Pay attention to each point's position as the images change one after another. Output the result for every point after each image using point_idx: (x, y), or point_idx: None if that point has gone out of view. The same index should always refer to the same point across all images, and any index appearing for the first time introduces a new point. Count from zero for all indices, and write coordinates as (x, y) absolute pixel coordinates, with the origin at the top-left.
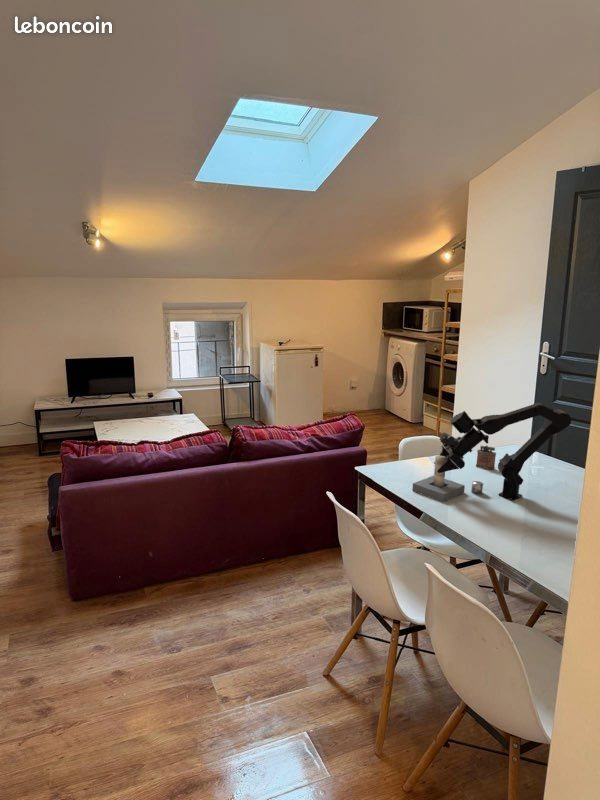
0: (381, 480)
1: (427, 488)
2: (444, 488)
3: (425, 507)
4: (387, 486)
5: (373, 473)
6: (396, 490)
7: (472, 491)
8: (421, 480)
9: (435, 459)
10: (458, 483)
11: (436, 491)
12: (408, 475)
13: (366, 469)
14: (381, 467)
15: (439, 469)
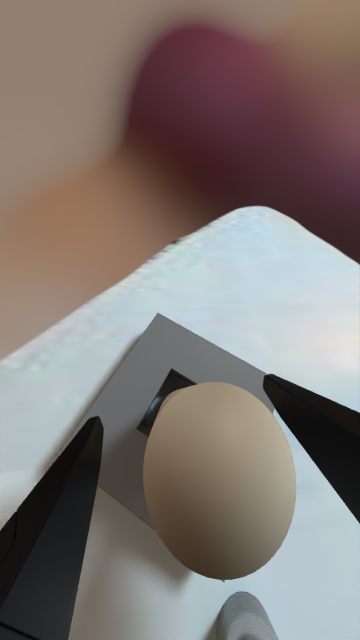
0: (204, 246)
1: (118, 369)
2: (136, 449)
3: (14, 378)
4: (168, 261)
5: (243, 228)
6: (146, 283)
7: (228, 613)
8: (199, 338)
9: (187, 387)
10: None
11: (89, 412)
12: (279, 301)
13: (260, 214)
14: (294, 239)
15: (73, 441)
